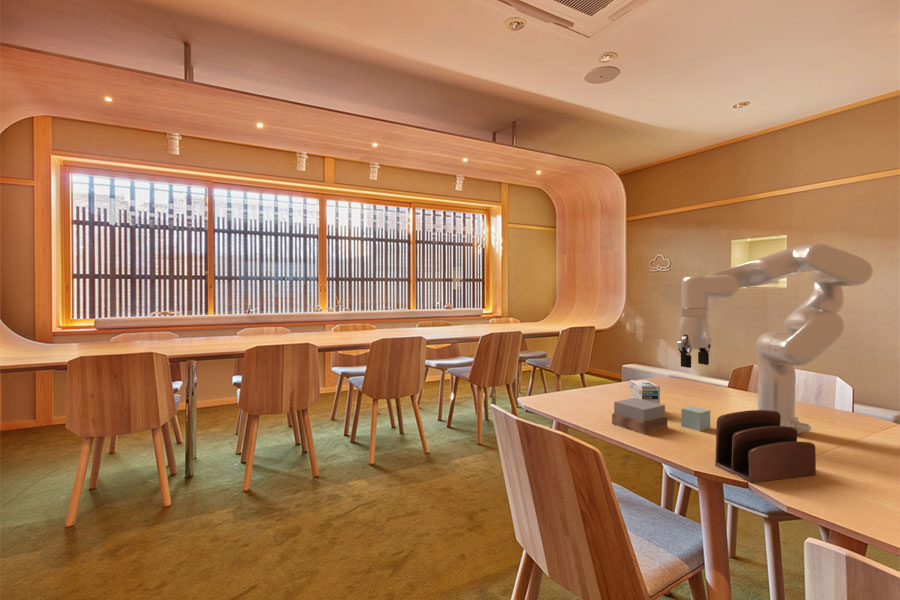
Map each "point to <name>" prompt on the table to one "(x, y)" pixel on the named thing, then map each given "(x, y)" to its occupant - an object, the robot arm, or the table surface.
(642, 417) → the grey slab
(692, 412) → the blue-grey block
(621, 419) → the walnut slab
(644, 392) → the light bulb box
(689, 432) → the table surface
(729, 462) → the letter holder
